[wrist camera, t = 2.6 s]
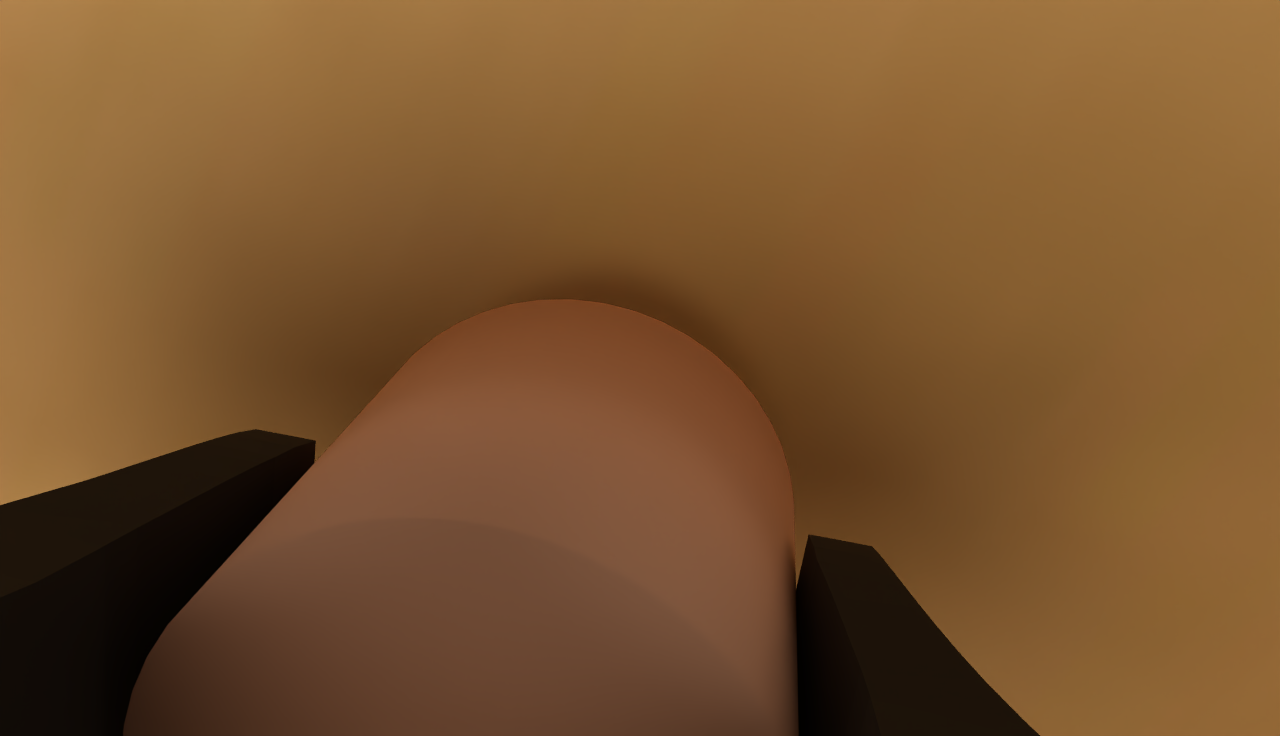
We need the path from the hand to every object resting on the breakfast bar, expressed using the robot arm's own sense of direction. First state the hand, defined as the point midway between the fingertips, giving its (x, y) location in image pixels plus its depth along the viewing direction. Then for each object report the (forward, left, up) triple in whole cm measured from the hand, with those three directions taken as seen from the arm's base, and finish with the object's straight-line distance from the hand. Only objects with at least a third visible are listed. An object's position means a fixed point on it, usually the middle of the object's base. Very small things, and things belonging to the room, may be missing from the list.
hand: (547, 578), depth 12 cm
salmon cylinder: (0, 0, -2) cm, 2 cm away
